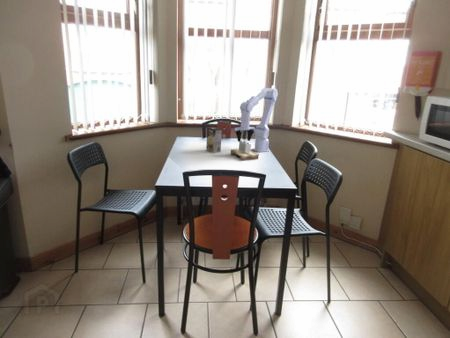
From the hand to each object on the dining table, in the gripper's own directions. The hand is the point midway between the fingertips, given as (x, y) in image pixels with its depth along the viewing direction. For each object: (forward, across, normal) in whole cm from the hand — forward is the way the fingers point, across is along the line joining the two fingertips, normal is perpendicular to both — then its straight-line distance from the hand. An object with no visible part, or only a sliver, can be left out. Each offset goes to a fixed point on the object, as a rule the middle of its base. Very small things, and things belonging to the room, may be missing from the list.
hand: (243, 141), depth 209 cm
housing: (+6, +2, +4) cm, 8 cm away
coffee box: (+10, +16, -14) cm, 23 cm away
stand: (+9, +2, +4) cm, 10 cm away
